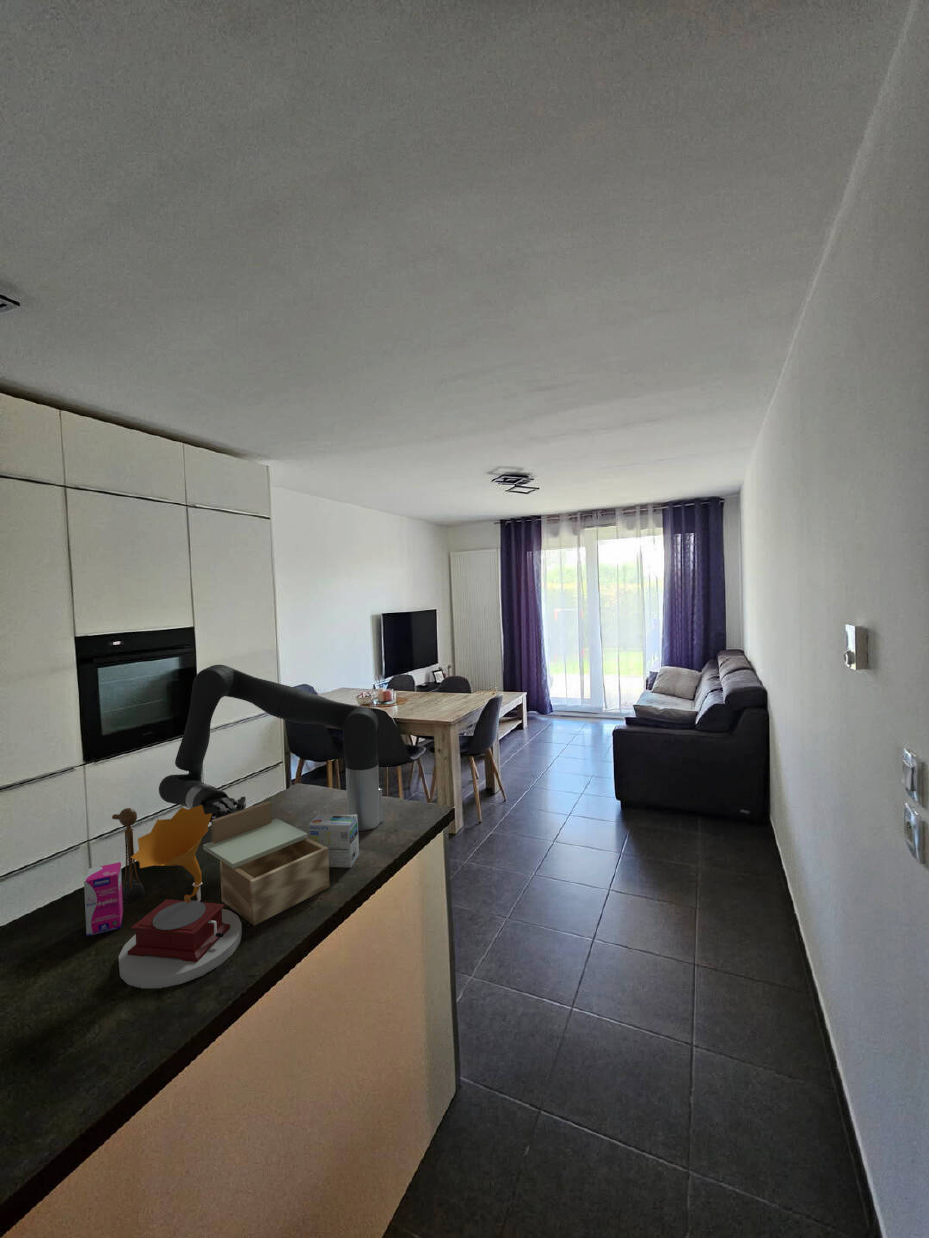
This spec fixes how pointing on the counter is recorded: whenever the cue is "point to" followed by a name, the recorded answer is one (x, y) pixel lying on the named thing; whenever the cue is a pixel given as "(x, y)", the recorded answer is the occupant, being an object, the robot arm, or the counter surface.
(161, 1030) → the counter surface
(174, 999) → the counter surface
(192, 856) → the gramophone
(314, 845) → the wooden box
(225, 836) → the sliding lid
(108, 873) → the supplement box
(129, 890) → the wooden tabletop sculpture
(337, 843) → the light bulb box
